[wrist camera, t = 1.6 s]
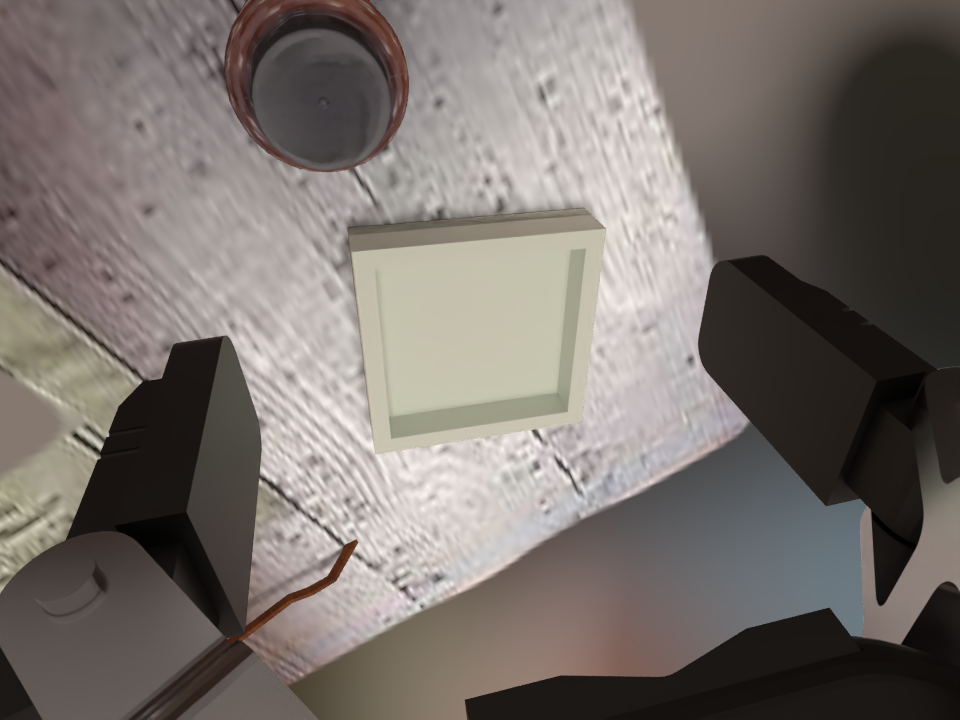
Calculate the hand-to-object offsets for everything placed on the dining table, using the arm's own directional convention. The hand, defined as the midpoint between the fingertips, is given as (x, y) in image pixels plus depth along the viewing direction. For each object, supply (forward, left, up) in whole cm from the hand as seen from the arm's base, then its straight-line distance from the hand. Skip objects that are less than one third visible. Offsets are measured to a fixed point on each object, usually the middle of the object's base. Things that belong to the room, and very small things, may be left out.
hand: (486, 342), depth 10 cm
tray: (+5, -13, -23) cm, 27 cm away
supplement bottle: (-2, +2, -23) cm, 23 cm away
